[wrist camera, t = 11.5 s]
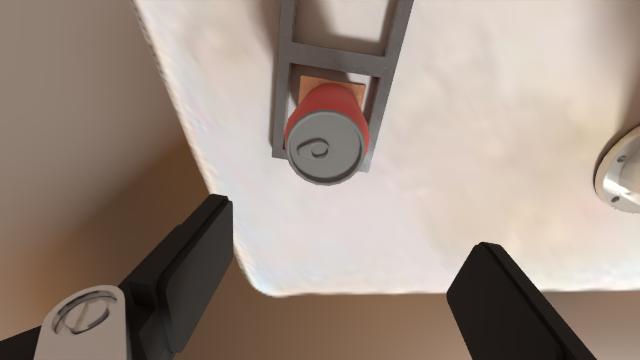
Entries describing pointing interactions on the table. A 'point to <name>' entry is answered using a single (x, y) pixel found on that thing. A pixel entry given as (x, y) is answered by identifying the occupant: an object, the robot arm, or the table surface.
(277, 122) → the gray rectangular frame
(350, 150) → the beer can
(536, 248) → the table surface
